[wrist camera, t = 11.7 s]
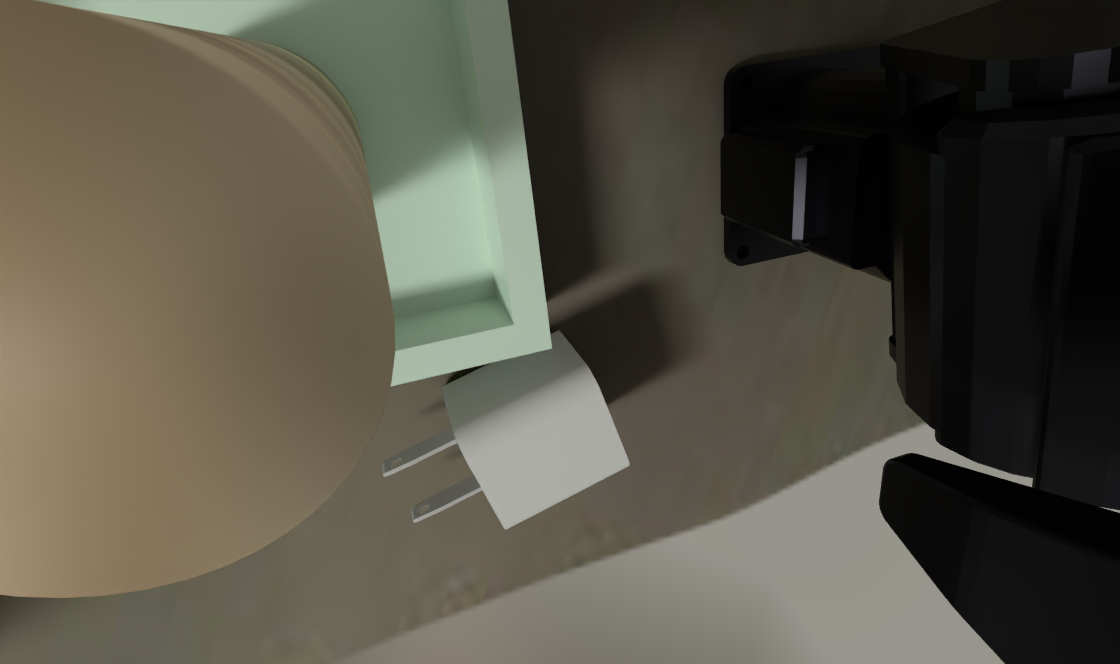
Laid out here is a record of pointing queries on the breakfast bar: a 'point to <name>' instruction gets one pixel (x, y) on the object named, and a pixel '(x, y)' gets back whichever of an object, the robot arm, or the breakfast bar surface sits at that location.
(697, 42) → the breakfast bar surface
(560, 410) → the usb wall charger
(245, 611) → the breakfast bar surface
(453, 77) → the pale green tray
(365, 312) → the beech dowel
